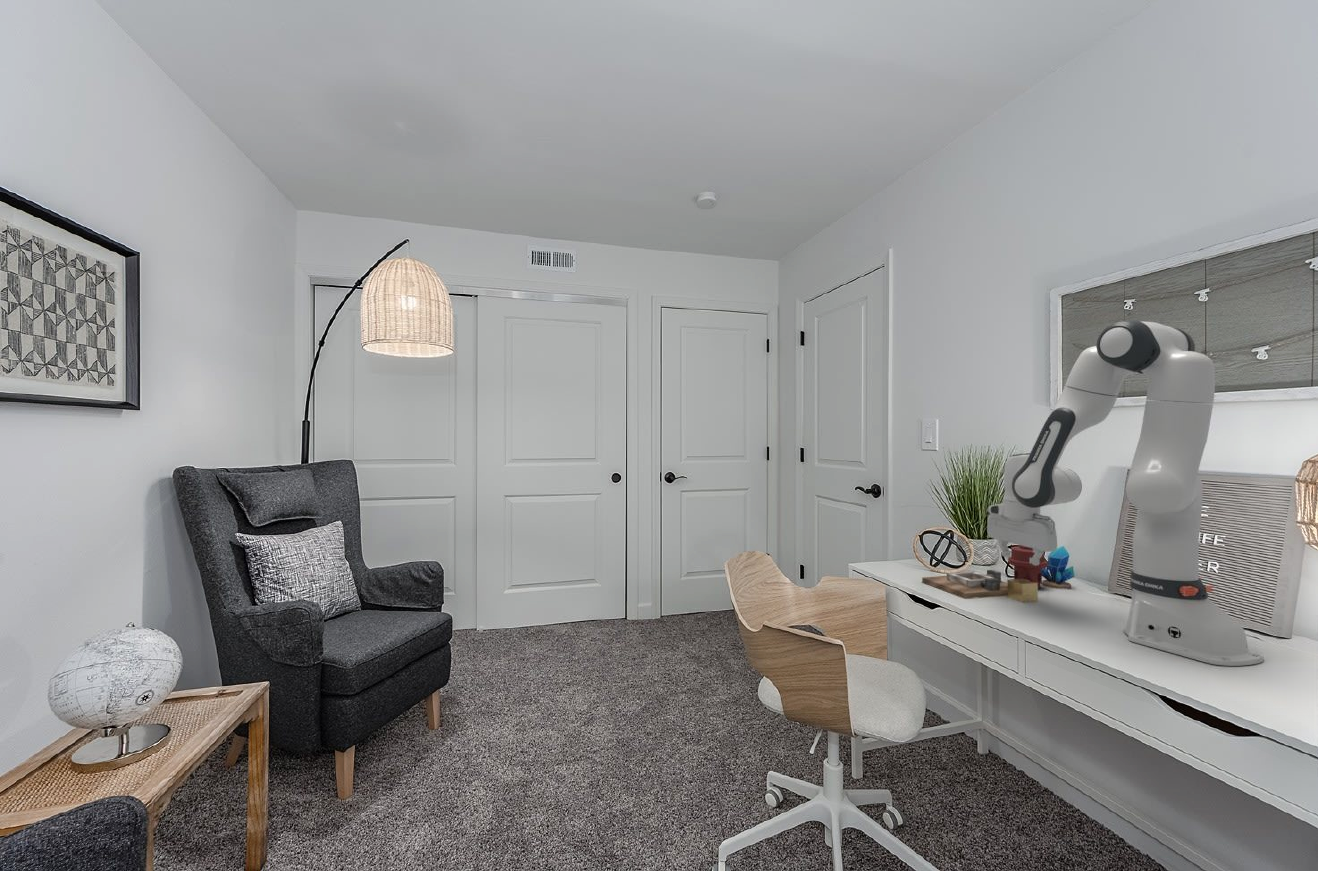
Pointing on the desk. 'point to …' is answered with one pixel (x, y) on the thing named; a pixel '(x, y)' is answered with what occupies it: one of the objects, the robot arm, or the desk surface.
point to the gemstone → (1058, 569)
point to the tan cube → (1022, 590)
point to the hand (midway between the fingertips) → (1019, 560)
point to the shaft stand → (970, 584)
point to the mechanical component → (1026, 564)
